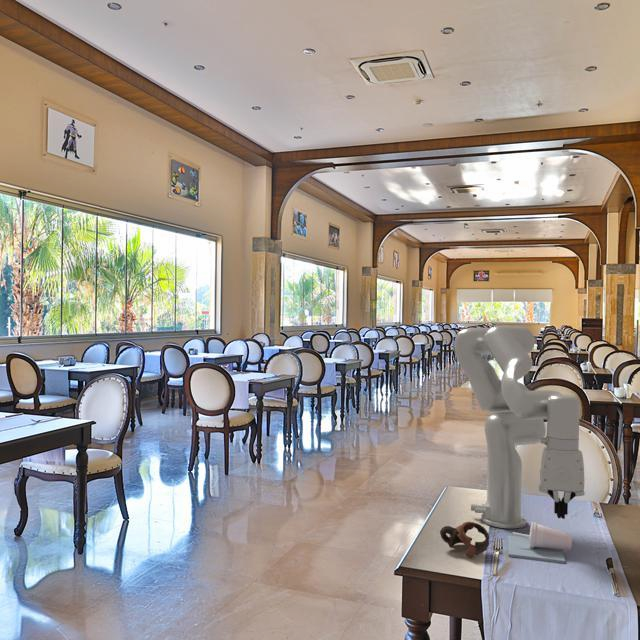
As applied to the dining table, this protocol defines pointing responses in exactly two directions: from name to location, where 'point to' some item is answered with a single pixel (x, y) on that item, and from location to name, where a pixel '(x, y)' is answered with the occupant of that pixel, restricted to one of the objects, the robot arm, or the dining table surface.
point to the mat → (532, 550)
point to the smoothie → (547, 537)
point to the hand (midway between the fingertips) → (560, 516)
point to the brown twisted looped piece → (465, 537)
